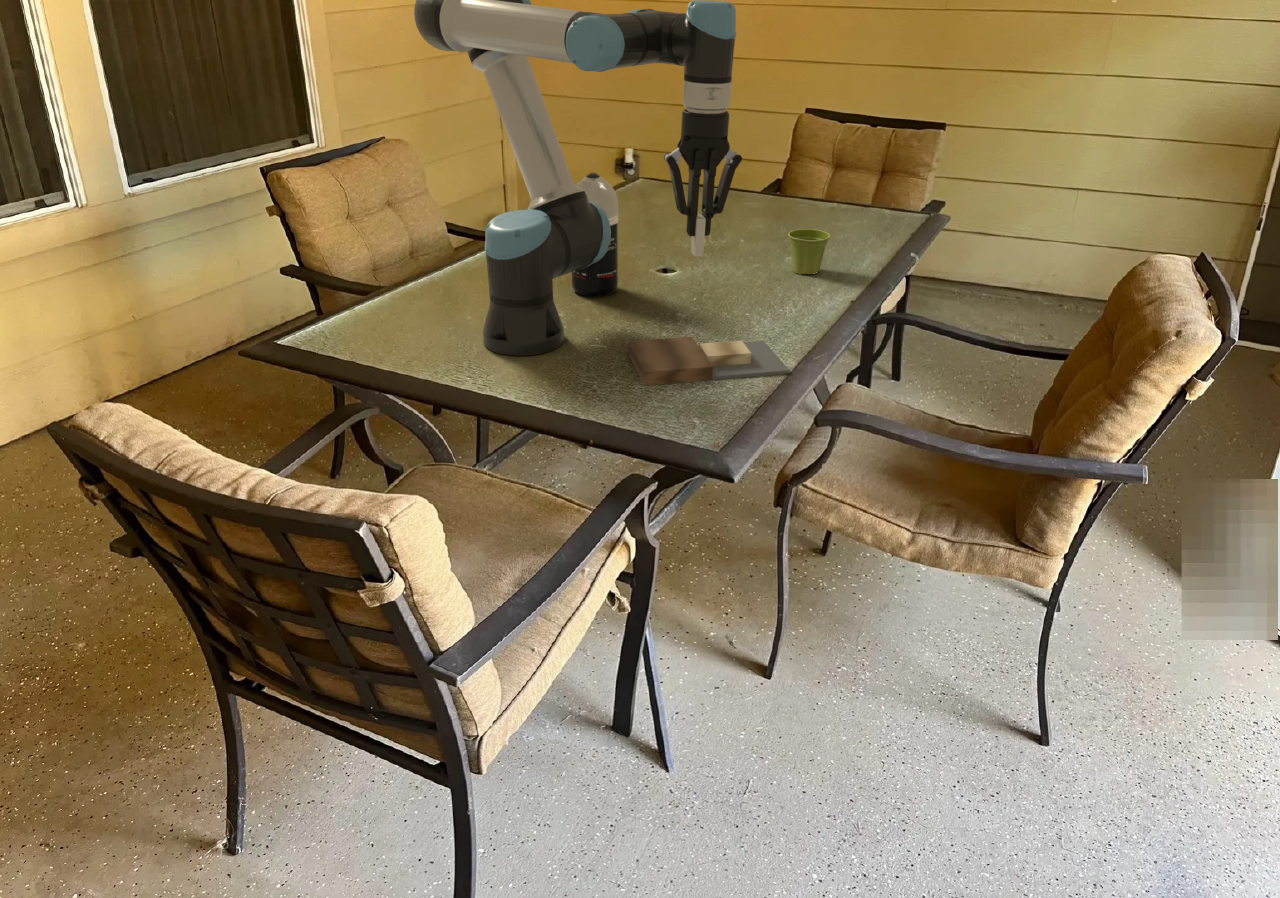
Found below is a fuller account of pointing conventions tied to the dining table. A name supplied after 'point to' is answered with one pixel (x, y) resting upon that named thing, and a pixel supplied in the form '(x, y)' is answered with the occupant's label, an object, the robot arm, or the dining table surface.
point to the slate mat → (753, 364)
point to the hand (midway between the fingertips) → (696, 253)
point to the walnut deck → (669, 361)
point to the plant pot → (807, 249)
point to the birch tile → (726, 353)
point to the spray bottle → (605, 271)
